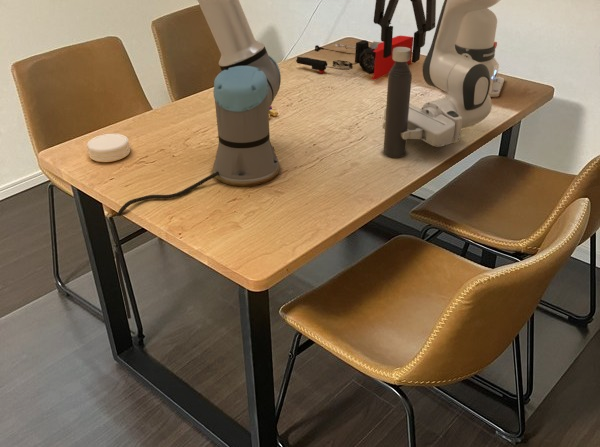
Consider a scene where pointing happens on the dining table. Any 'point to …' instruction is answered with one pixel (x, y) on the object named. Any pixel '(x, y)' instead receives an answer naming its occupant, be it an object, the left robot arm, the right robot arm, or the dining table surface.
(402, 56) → the cap
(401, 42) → the electric hoist
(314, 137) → the dining table surface
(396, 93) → the bottle
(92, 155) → the white round disc
